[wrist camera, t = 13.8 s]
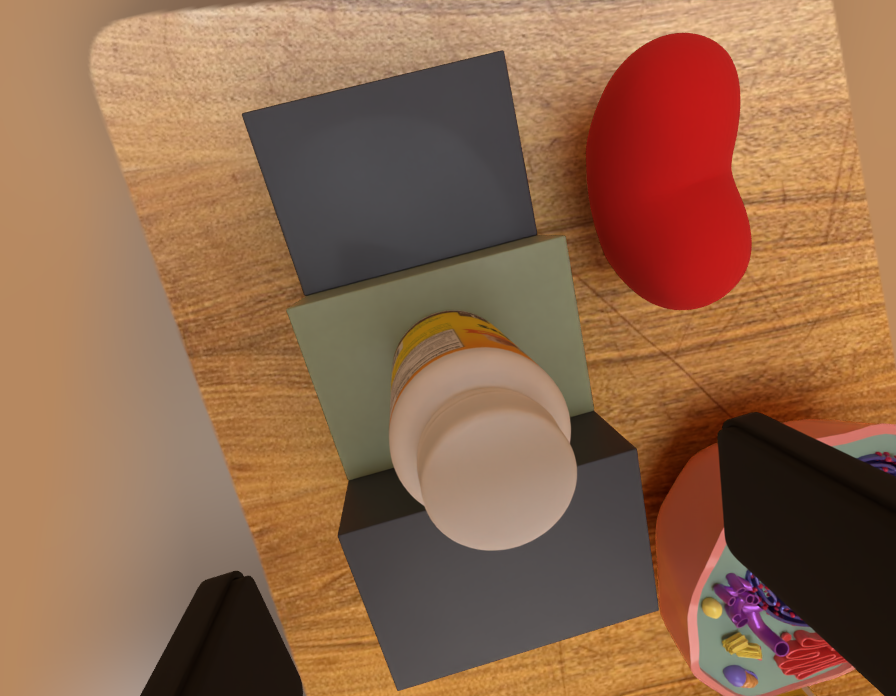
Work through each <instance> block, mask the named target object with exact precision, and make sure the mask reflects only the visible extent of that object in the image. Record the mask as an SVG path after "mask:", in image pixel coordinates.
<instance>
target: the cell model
mask: <svg viewBox="0 0 896 696" xmlns="http://www.w3.org/2000/svg"><path fill="white" fill-rule="evenodd" d="M782 423H783V424H785V425H787V426H789V427H791V428H793V429H796V430H798V431H800V432H802V433H804V434H806V435H808V436H810V437H813V438H815V439H817V440H819V441H821V442H823V443H825V444H827V445H830V446H832V447H834V448H836V449H838V450H840V451H842V452H844V453H846V454H849V455H851V456H853V457H855V458H857V459H859V460H861V461H863V462H866V463H868V464H870V465H872V466H874V467H876V468H878V469H880V470H883V471H885V472H887V473H889V474H891V475H893V476H895V477H896V425H892V424H879V423H863V422H852V421H841V420H827V419H802V420H794V421H786V422H782ZM655 541H656V558H657V579H658V601H659V607H660V613H661V616H662V619H663V621H664V623H665V626H666V627H667V629H668V631H669V633H670V635H671V637H672V639H673V640H674V642H675V644H676V646H677V648H678V649H679V651H680V653H681V654H682V656H683V658H684V659H685V661H686V663H687V664H688V666H689V668H690V669H691V671H692V672H693V674H694V675H695V677H696V678H698V679H699V680H700V681H702V682H703V683H705V684H706V685H707V686H709V687H711V688H712V689H714V690H715V691H717V692H719V693H720V694H722V695H723V696H777V695H780V694H783V693H786V692H790V691H793V690H796V689H799V688H803V687H806V686H810V685H813V684H817V683H820V682H824V681H827V680H831V679H834V678H837V677H839V676H842V675H844V674H846V673H848V672H850V671H852V670H854V669H855V668H854V667H853V666H852V665H851V664H850V663H849V662H848V661H846V660H845V659H844V658H843V657H842V656H841V655H840V654H839V653H838V652H837V651H836V650H835V649H833V648H832V647H831V646H830V645H829V644H828V643H827V642H826V641H825V640H824V639H823V638H822V637H820V636H819V635H818V634H817V633H816V632H815V631H814V630H813V629H812V628H811V627H810V626H808V625H807V624H806V623H805V622H804V621H803V620H802V619H801V618H800V617H799V616H798V615H797V614H795V613H794V612H793V611H792V610H791V609H790V608H789V607H788V606H787V605H786V604H785V603H784V602H782V601H781V600H780V599H779V598H778V597H777V596H776V595H775V594H774V593H773V592H772V591H771V590H769V589H768V588H767V587H766V586H765V585H764V584H763V583H762V582H761V581H760V580H759V579H758V578H756V577H755V576H754V575H753V574H752V573H751V572H750V571H749V570H748V569H747V568H746V567H745V566H743V565H742V564H741V563H740V562H739V561H738V560H737V559H736V558H735V557H734V556H733V554H732V553H731V552H730V550H729V548H728V546H727V544H726V541H725V534H724V520H723V507H722V493H721V479H720V466H719V452H718V443H715V444H713V445H710V446H708V447H706V448H704V449H702V450H700V451H699V452H697V453H696V454H695V455H694V456H693V457H692V458H691V459H690V460H689V461H688V462H687V463H686V465H685V466H684V468H683V469H682V471H681V473H680V474H679V476H678V477H677V479H676V481H675V482H674V484H673V486H672V487H671V489H670V491H669V492H668V494H667V496H666V497H665V499H664V501H663V502H662V505H661V508H660V511H659V513H658V516H657V522H656V540H655Z"/></svg>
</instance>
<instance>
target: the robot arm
mask: <svg viewBox="0 0 896 696" xmlns="http://www.w3.org/2000/svg"><path fill="white" fill-rule="evenodd" d="M718 452H719V466H720V479H721V493H722V507H723V520H724V534H725V541H726V544H727V546H728V548H729V550H730V552H731V553H732V554H733V556H734V557H735V558H736V559H737V560H738V561H739V562H740V563H741V564H742V565H743V566H745V567H746V568H747V569H748V570H749V571H750V572H751V573H752V574H753V575H754V576H755V577H756V578H758V579H759V580H760V581H761V582H762V583H763V584H764V585H765V586H766V587H767V588H768V589H769V590H771V591H772V592H773V593H774V594H775V595H776V596H777V597H778V598H779V599H780V600H781V601H782V602H784V603H785V604H786V605H787V606H788V607H789V608H790V609H791V610H792V611H793V612H794V613H795V614H797V615H798V616H799V617H800V618H801V619H802V620H803V621H804V622H805V623H806V624H807V625H808V626H810V627H811V628H812V629H813V630H814V631H815V632H816V633H817V634H818V635H819V636H820V637H822V638H823V639H824V640H825V641H826V642H827V643H828V644H829V645H830V646H831V647H832V648H833V649H835V650H836V651H837V652H838V653H839V654H840V655H841V656H842V657H843V658H844V659H845V660H846V661H848V662H849V663H850V664H851V665H852V666H853V667H854V668H855V669H856V670H857V671H858V672H859V673H861V674H862V675H863V676H864V677H865V678H866V679H867V680H868V681H869V682H870V683H871V684H872V685H874V686H875V687H876V688H877V689H878V690H879V691H880V692H881V693H882V694H883V695H884V696H896V477H895V476H893V475H891V474H889V473H887V472H885V471H883V470H880V469H878V468H876V467H874V466H872V465H870V464H868V463H866V462H863V461H861V460H859V459H857V458H855V457H853V456H851V455H849V454H846V453H844V452H842V451H840V450H838V449H836V448H834V447H832V446H830V445H827V444H825V443H823V442H821V441H819V440H817V439H815V438H813V437H810V436H808V435H806V434H804V433H802V432H800V431H798V430H796V429H793V428H791V427H789V426H787V425H785V424H783V423H781V422H779V421H777V420H774V419H772V418H770V417H768V416H766V415H764V414H761V413H758V412H752V413H748V414H745V415H742V416H739V417H735V418H732V419H729V420H727V421H725V422H724V424H723V426H722V430H720V431H719V433H718ZM140 696H303V689H302V682H301V679H300V676H299V674H298V672H297V670H296V667H295V665H294V663H293V661H292V659H291V657H290V655H289V653H288V651H287V649H286V647H285V644H284V642H283V640H282V638H281V636H280V634H279V632H278V630H277V627H276V625H275V623H274V622H273V619H272V617H271V615H270V613H269V610H268V608H267V606H266V604H265V602H264V600H263V598H262V596H261V594H260V591H259V590H258V587H257V585H256V583H255V581H254V579H253V578H252V577H251V576H245V577H244V576H243V574H242V573H241V572H239V571H233V572H230V573H226V574H223V575H220V576H217V577H213V578H210V579H207V580H205V581H203V582H202V583H201V584H200V586H199V587H198V589H197V591H196V593H195V595H194V597H193V598H192V600H191V602H190V604H189V606H188V608H187V609H186V611H185V613H184V615H183V617H182V619H181V621H180V623H179V624H178V626H177V628H176V630H175V632H174V634H173V635H172V637H171V639H170V641H169V643H168V645H167V647H166V649H165V650H164V652H163V654H162V656H161V658H160V660H159V662H158V663H157V665H156V667H155V669H154V671H153V673H152V675H151V676H150V679H149V680H148V682H147V684H146V686H145V688H144V690H143V691H142V693H141V695H140Z"/></svg>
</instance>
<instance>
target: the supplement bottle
mask: <svg viewBox="0 0 896 696" xmlns="http://www.w3.org/2000/svg"><path fill="white" fill-rule="evenodd" d="M570 438H571V424H570V416H569V411H568V408H567V405H566V402H565V399H564V397H563V395H562V393H561V391H560V390H559V388H558V387H557V385H556V384H555V382H554V381H553V380H552V379H551V377H550V376H549V375H548V374H547V373H546V372H545V371H544V370H543V369H542V368H541V367H540V366H539V365H537V364H536V363H535V362H534V361H533V360H532V359H531V358H530V357H528V356H527V355H526V354H525V353H524V352H523V351H522V350H521V349H519V348H518V347H517V346H516V345H515V344H514V343H513V342H512V341H511V340H510V339H509V338H507V337H506V336H505V335H504V334H502V333H501V332H500V331H499V330H498V329H497V328H496V327H495V326H493V325H492V324H491V323H490V322H488V321H487V320H485V319H483V318H482V317H480V316H478V315H475V314H472V313H469V312H465V311H457V310H450V311H442V312H437V313H434V314H431V315H429V316H427V317H425V318H423V319H421V320H419V321H418V322H417V323H415V324H414V325H413V326H412V327H411V328H410V329H409V330H408V331H407V332H406V333H405V334H404V336H403V337H402V339H401V340H400V342H399V344H398V346H397V348H396V351H395V354H394V358H393V364H392V378H391V399H390V423H389V446H390V454H391V459H392V463H393V466H394V468H395V471H396V473H397V475H398V477H399V479H400V481H401V482H402V484H403V486H404V487H405V488H406V490H407V491H408V492H409V493H410V494H411V495H412V496H413V497H414V498H415V499H416V500H417V501H418V502H419V503H421V504H422V505H424V506H425V509H426V511H427V513H428V515H429V517H430V518H431V520H432V522H433V523H434V524H435V525H436V527H437V528H438V529H439V530H440V531H441V532H442V533H443V534H444V535H446V536H447V537H449V538H450V539H451V540H453V541H455V542H457V543H459V544H461V545H464V546H467V547H470V548H474V549H479V550H505V549H510V548H514V547H518V546H521V545H523V544H526V543H528V542H530V541H533V540H534V539H536V538H538V537H539V536H541V535H542V534H544V533H545V532H547V531H548V530H549V529H550V528H551V527H552V526H553V525H554V524H555V523H556V522H557V521H558V520H559V519H560V518H561V516H562V515H563V514H564V512H565V511H566V509H567V508H568V506H569V504H570V502H571V499H572V497H573V494H574V491H575V487H576V481H577V465H576V459H575V456H574V452H573V450H572V447H571V445H570Z"/></svg>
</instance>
